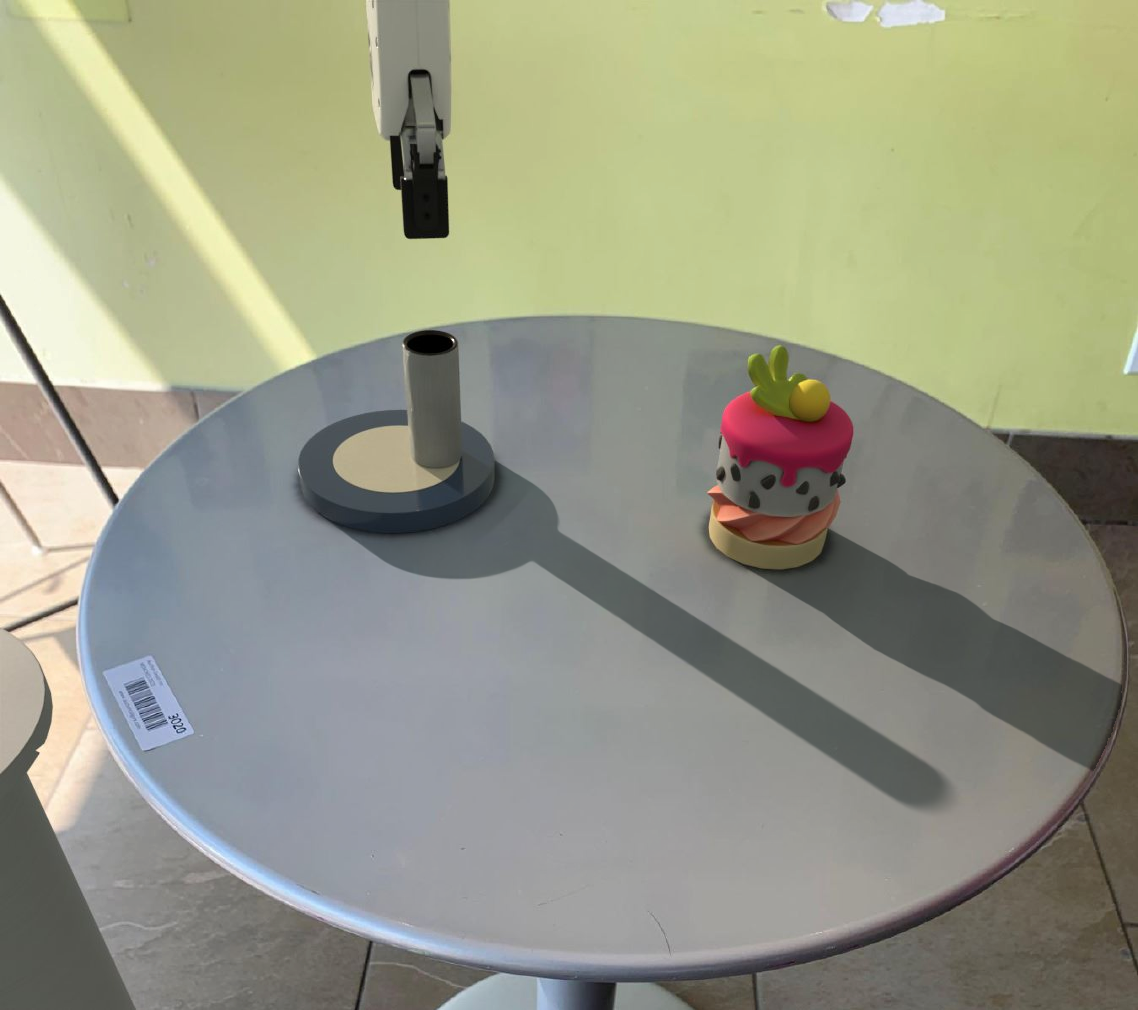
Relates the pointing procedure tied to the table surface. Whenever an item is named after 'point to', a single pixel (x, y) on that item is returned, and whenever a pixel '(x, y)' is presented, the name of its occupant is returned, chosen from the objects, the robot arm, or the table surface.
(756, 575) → the table surface
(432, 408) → the planter
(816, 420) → the cake
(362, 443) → the plate
